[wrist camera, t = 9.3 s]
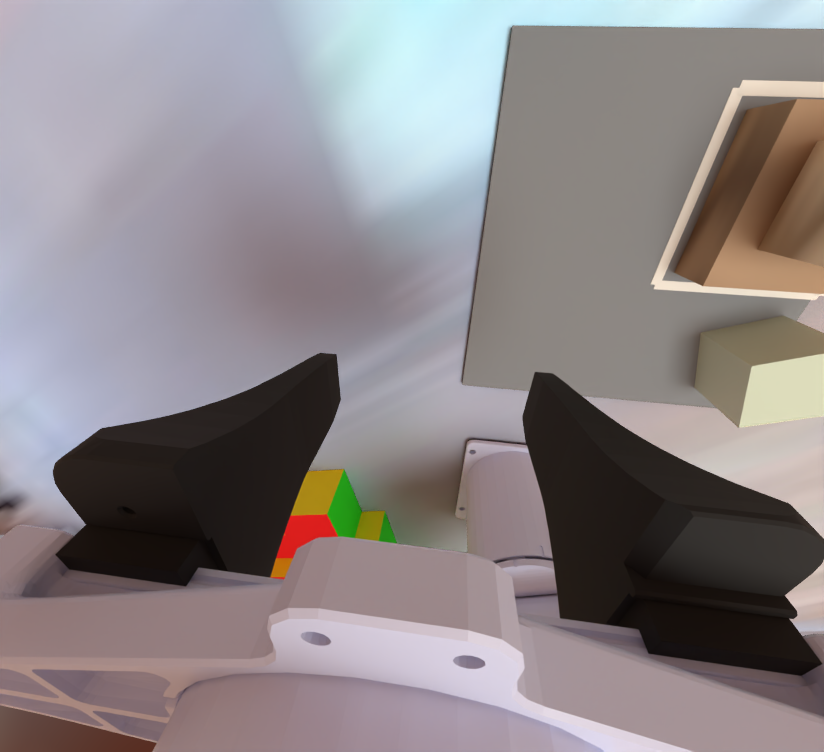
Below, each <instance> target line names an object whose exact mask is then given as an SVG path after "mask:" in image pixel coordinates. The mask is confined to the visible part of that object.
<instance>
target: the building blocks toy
mask: <svg viewBox="0 0 824 752" xmlns="http://www.w3.org/2000/svg"><path fill="white" fill-rule="evenodd" d="M319 537H350V538H358V539H365V540H373V541H381V542H389V543H396V544H397V542H396V540H395V537H394V534H393V532H392V529H391V526H390V523H389V521H388V518H387V515H386V513H385V511H367V512H362V511H361V508H360V506H359V503H358V501H357V499H356V496H355V494H354V492H353V489H352V487H351V485H350V482H349V480H348V477H347V475H346V473H345V470H344V469H339V470H322V471H308V472H307V474H306V476H305V478H304V481H303V483H302V486H301V489H300V491H299V494H298V496H297V499H296V502H295V504H294V507H293V510H292V513H291V516H290V518H289V521H288V524H287V527H286V530H285V533H284V536H283V539H282V542H281V545H280V548H279V551H278V554H277V557H276V560H275V564H274V567H273V570H272V574H271V577H270V578H277V579H285V576H286V574H287V572H288V569H289V567H290V564H291V562H292V560H293V557H294V555H295V552H296V550H297V548H299V547H301V546H303V545H305V544H306V543H308V542H310V541H312V540H314V539H316V538H319Z"/></svg>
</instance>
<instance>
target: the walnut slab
mask: <svg viewBox="0 0 824 752" xmlns="http://www.w3.org/2000/svg"><path fill="white" fill-rule="evenodd" d="M817 141H824V100H818V99H795V100H790V101H785V102H780V103H776V104H771V105H766V106H761V107H757V108H752V109H747V111H746V113H745V116H744V118H743V120H742V122H741V124H740V127H739V129H738V131H737V133H736V136H735V138H734V140H733V142H732V145H731V147H730V149H729V151H728V153H727V156H726V158H725V160H724V162H723V165H722V167H721V169H720V171H719V173H718V176H717V178H716V180H715V182H714V185H713V187H712V189H711V191H710V194H709V196H708V198H707V200H706V202H705V205H704V207H703V209H702V211H701V214H700V216H699V218H698V220H697V223H696V225H695V227H694V229H693V231H692V234H691V236H690V238H689V240H688V243H687V245H686V247H685V249H684V252H683V254H682V256H681V258H680V260H679V263H678V265H677V267H676V269H675V272H674V273H676V274H678V275H680V276H682V277H684V278H686V279H688V280H691V281H693V282H695V283H697V284H699V285H701V286H707V287H722V288H738V289H753V290H768V291H783V292H798V293H813V294H824V267H822V266H818V265H814V264H810V263H807V262H803V261H799V260H795V259H791V258H787V257H784V256H780V255H776V254H772V253H768V252H765V251H761V250H757V249H758V248H759V246H760V244H761V242H762V240H763V239H764V237H765V235H766V233H767V231H768V230H769V228H770V226H771V224H772V222H773V221H774V219H775V217H776V215H777V213H778V212H779V210H780V208H781V206H782V204H783V203H784V201H785V199H786V197H787V195H788V194H789V192H790V190H791V188H792V186H793V185H794V183H795V181H796V179H797V177H798V176H799V174H800V172H801V170H802V168H803V167H804V165H805V163H806V161H807V159H808V157H809V156H810V154H811V152H812V150H813V148H814V147H815V145H816V143H817Z"/></svg>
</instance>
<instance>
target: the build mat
mask: <svg viewBox="0 0 824 752" xmlns="http://www.w3.org/2000/svg"><path fill="white" fill-rule="evenodd" d="M795 99H818V100H824V29H757V28H672V27H587V26H513V27H512V31H511V38H510V45H509V52H508V59H507V67H506V74H505V81H504V88H503V95H502V102H501V109H500V116H499V124H498V131H497V138H496V145H495V152H494V159H493V166H492V174H491V181H490V188H489V195H488V202H487V209H486V216H485V224H484V231H483V238H482V245H481V252H480V259H479V266H478V274H477V281H476V288H475V295H474V302H473V309H472V316H471V323H470V331H469V338H468V345H467V352H466V359H465V366H464V373H463V381H462V385H468V386H479V387H490V388H501V389H512V390H523V391H530V388H531V384H532V380H533V377H534V373H535V372H544V373H553V374H554V375H556V376H557V377H559V378H560V379H561V380H563V381H564V382H565V383H566V384H568V385H569V386H570V387H571V388H572V389H574V390H575V391H576V392H577V393H579V394H580V395H581V396H588V397H599V398H610V399H621V400H632V401H643V402H653V403H664V404H675V405H686V406H697V407H708V408H716V407H715V406H714V405H713V404H712V403H711V402H710V401H709V400H708V399H706V398H705V397H704V396H703V395H702V394H701V393H700V392H699V391H698V390H697V389H695V388H694V386H695V378H696V369H697V361H698V352H699V344H700V335H701V333H702V332H706V331H711V330H716V329H721V328H726V327H731V326H736V325H741V324H746V323H750V322H755V321H760V320H765V319H770V318H775V317H780V316H786V317H788V318H790V319H792V320H795V321H797V319H798V318H799V316H800V315H801V314H802V312H803V311H804V309H805V308H806V306H807V305H808V303H809V302H810V301H811V300H816V299H817V297H818V296H824V294H813V293H798V292H783V291H768V290H753V289H738V288H722V287H707V286H701V285H699V284H697V283H695V282H693V281H691V280H688V279H686V278H684V277H682V276H680V275H678V274H676V273H674V272H675V269H676V267H677V265H678V263H679V260H680V258H681V256H682V254H683V252H684V249H685V247H686V245H687V243H688V240H689V238H690V236H691V234H692V231H693V229H694V227H695V225H696V223H697V220H698V218H699V216H700V214H701V211H702V209H703V207H704V205H705V202H706V200H707V198H708V196H709V194H710V191H711V189H712V187H713V185H714V182H715V180H716V178H717V176H718V173H719V171H720V169H721V167H722V165H723V162H724V160H725V158H726V156H727V153H728V151H729V149H730V147H731V145H732V142H733V140H734V138H735V136H736V133H737V131H738V129H739V127H740V124H741V122H742V120H743V118H744V116H745V113H746V111H747V109H752V108H757V107H761V106H766V105H771V104H776V103H780V102H785V101H790V100H795Z"/></svg>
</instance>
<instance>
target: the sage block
mask: <svg viewBox="0 0 824 752" xmlns="http://www.w3.org/2000/svg"><path fill="white" fill-rule="evenodd" d="M694 388H695V389H697V390H698V391H699V392H700V393H701V394H702V395H703V396H704V397H705V398H706V399H708V400H709V401H710V402H711V403H712V404H713V405H714V406H715V407H716V408H717V409H719V410H720V411H721V412H722V413H723V414H724V415H725V416H726V417H727V418H728V419H730V420H731V421H732V422H733V423H734V424H735V425H736V426H737V427H738V428H742V427H749V426H756V425H763V424H770V423H778V422H785V421H792V420H799V419H806V418H814V417H821V416H824V333H822V332H820V331H817V330H815V329H813V328H811V327H808V326H806V325H804V324H802V323H799V322H797V321H795V320H792V319H790V318H788V317H786V316H780V317H775V318H770V319H765V320H760V321H755V322H750V323H746V324H741V325H736V326H731V327H726V328H721V329H716V330H711V331H706V332H702V333H701V335H700V344H699V352H698V361H697V369H696V378H695V386H694Z"/></svg>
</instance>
